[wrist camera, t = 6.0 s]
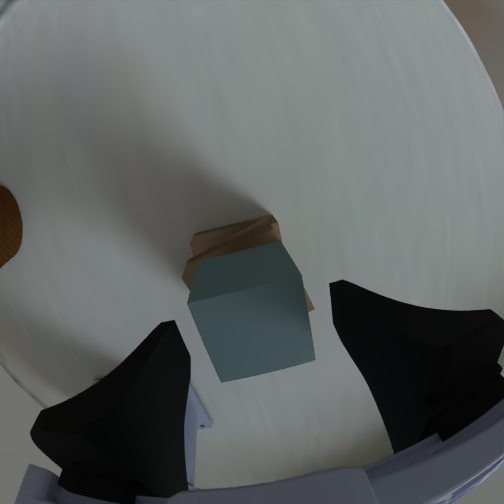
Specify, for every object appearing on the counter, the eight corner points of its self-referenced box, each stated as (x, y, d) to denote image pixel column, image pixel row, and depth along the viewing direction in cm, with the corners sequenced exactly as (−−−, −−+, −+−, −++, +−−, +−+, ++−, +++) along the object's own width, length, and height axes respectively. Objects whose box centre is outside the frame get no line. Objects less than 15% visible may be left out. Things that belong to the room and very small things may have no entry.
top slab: (231, 324, 17) (232, 348, 15) (187, 260, 16) (181, 278, 13) (303, 288, 17) (314, 308, 15) (266, 217, 15) (273, 228, 13)
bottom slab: (216, 299, 19) (214, 318, 17) (195, 232, 18) (190, 244, 15) (285, 282, 19) (293, 299, 17) (271, 213, 18) (278, 222, 15)
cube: (221, 329, 14) (221, 382, 11) (198, 261, 13) (187, 303, 9) (295, 311, 14) (315, 359, 11) (280, 240, 13) (301, 274, 9)
